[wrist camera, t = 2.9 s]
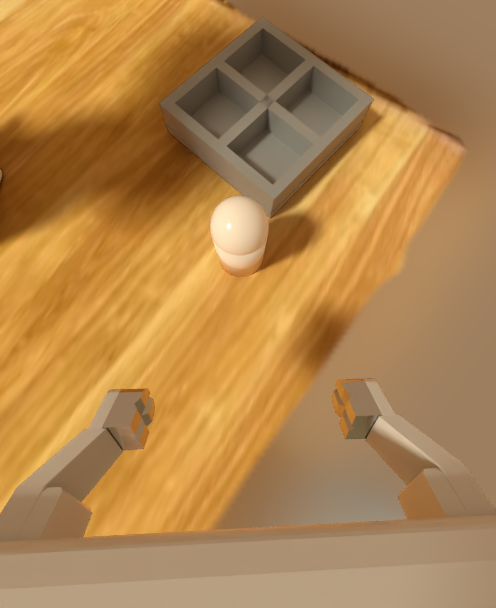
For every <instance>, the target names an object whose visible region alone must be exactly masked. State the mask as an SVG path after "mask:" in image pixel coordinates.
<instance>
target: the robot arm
mask: <svg viewBox="0 0 496 608" xmlns="http://www.w3.org/2000/svg"><path fill="white" fill-rule="evenodd" d="M1 178H2V171H1V169H0V181H1ZM336 387H337V389H336V390H335V391H334V392H333V395H332V402H333V407H334V410H335V413H336V414H337V415H338V416H339V417H340V418H341V420H340V423H339V424H340V427H341V429H342V432H343V435H344V438H345V439H366V441H367V443H368V444H369V445H370V446H371V447H372V448H373V449H374V450H375V451H376V452H377V453H378V454H379V455H380V456H381V457H382V459H383V460H384V461H385V462H386V463H387V464H388V465H389V466H390V467H391V468H392V469H393V470H394V472H395V473H396V474H397V475H398V476H399V477H400V478H401V479H402V480H403V481H404V482H405V483H406V484H407V486H406V487H405V488H404V489H403V490H402V491H401V492H400V493H399V495H398V499H399V501H400V503H401V506H402V508H403V510H404V512H405V515H406V517H407V519H405V520H389V521H388V520H387V521H370V522H369V521H368V522H351V523H333V524H314V525H297V526H277V527H259V528H241V529H223V530H204V531H186V532H168V533H150V534H131V535H113V536H95V537H83V536H84V534H85V531H86V528H87V525H88V523H89V520H90V517H91V515H92V512H91V509H90V508H88V507H87V506H86V505H84V504H83V503H82V501H83V500H84V499H85V497H86V496H87V495H88V494H89V493H90V491H91V490H92V489H93V488H94V486H95V485H96V484H97V483H98V482H99V480H100V479H101V478H102V477H103V476H104V474H105V473H106V472H107V471H108V469H109V468H110V467H111V466H112V465H113V463H114V462H115V461H116V460H117V459H118V457H119V456H120V455H121V454H122V452H123V451H124V450H137V449H144V447H145V444H146V440H147V437H148V434H149V431H148V428H147V426H148V425H149V424H150V423H151V422H152V420H153V417H154V411H155V405H154V401H153V399H152V398H150V397H149V395H150V392H149V390H148V388H145V389H112V390H109V391H108V392H107V393H106V395H105V397H104V399H103V401H102V403H101V405H100V407H99V409H98V411H97V413H96V415H95V417H94V419H93V421H92V422H91V424H90V426H89V428H88V429H84V430H83V431H82V432H81V433H80V434H78V435H77V436H76V437H75V438H74V439H73V440H71V441H70V442H69V443H68V444H67V445H66V446H64V447H63V448H62V449H61V450H60V451H59V452H58V453H56V454H55V455H54V456H53V457H52V458H51V459H49V460H48V461H47V462H46V463H45V464H44V465H43V466H41V467H40V468H39V469H38V470H37V471H36V472H34V473H33V474H32V475H31V476H30V477H29V478H27V479H26V480H25V481H24V482H23V483H22V484H21V485H19V486H18V487H17V488H16V490H15V491H14V493H13V495H12V496H11V498H10V499H9V501H8V503H7V504H6V506H5V507H4V509H3V511H2V512H1V514H0V608H496V509H495V507H494V506H493V504H492V503H491V501H490V500H489V498H488V497H487V496H486V494H485V493H484V492H483V490H482V488H481V487H480V485H479V484H478V483H477V481H476V480H475V478H474V477H473V475H472V474H471V473H470V471H469V470H468V468H467V467H466V465H464V464H463V463H462V462H460V461H459V460H458V459H456V458H455V457H454V456H453V455H451V454H450V453H449V452H447V451H446V450H445V449H443V448H442V447H441V446H439V445H438V444H437V443H436V442H434V441H433V440H432V439H430V438H429V437H428V436H426V435H425V434H424V433H423V432H421V431H420V430H419V429H417V428H416V427H415V426H413V425H412V424H411V423H410V422H408V421H407V420H406V419H404V418H403V417H402V416H401V415H396V414H395V412H394V410H393V409H392V407H391V405H390V404H389V402H388V400H387V398H386V397H385V395H384V393H383V391H382V390H381V388H380V386H379V385H378V383H377V381H376V380H375V379H372V378H370V379H347V380H338V381H337V383H336Z"/></svg>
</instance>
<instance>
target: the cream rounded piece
mask: <svg viewBox="0 0 496 608" xmlns="http://www.w3.org/2000/svg"><path fill="white" fill-rule="evenodd" d="M210 232H211V236H212V239H213V242H214V246H215V249H216V252H217V255H218V259H219V262H220V264H221V266H222V268H223V269H224V270H225V271H226V272H227V273H229V274H230V275H232V276H236V277H246V276H249V275H251V274H253V273H255V272H256V271H257V270H258V269H259V267H260V266H261V264H262V260H263V256H264V251H265V247H266V242H267V237H268V232H269V221H268V217H267V214H266V212H265V210H264V209H263V207H262V206H261V205H260V204H259V203H258V202H257V201H255V200H254V199H252V198H250V197H246V196H232V197H229V198H227V199H225V200H223V201H222V202H221V203H219V205H218V206H217V207H216V208H215V210H214V212H213V214H212V217H211V221H210Z"/></svg>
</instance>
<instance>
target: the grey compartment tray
mask: <svg viewBox="0 0 496 608" xmlns="http://www.w3.org/2000/svg"><path fill="white" fill-rule="evenodd" d="M373 100H374V99H373V98H372V97H371V96H369V95H368V94H366V93H365V92H364V91H362V90H361V89H360V88H358V87H357V86H356V85H354V84H353V83H352V82H350V81H349V80H347V79H346V78H345V77H343V76H342V75H341V74H339V73H338V72H337V71H335V70H334V69H333V68H331V67H330V66H329V65H327V64H326V63H324V62H323V61H322V60H320V59H319V58H318V57H316V56H315V55H314V54H312V53H311V52H310V51H308V50H307V49H305V48H304V47H303V46H301V45H300V44H299V43H297V42H296V41H295V40H293V39H292V38H291V37H289V36H288V35H286V34H285V33H284V32H282V31H281V30H280V29H278V28H277V27H276V26H274V25H273V24H272V23H270V22H269V21H267V20H266V19H265V18H263V17H261V18H260V19H259V20H257V21H256V22H255V23H254V24H253V25H252V26H250V27H249V28H248V29H247V30H246V31H244V32H243V33H242V34H241V35H240V36H238V37H237V38H236V39H235V40H234V41H233V42H231V43H230V44H229V45H228V46H227V47H225V48H224V49H223V50H222V51H221V52H219V53H218V54H217V55H216V56H215V57H214V58H212V59H211V60H210V61H209V62H208V63H206V64H205V65H204V66H203V67H202V68H200V69H199V70H198V71H197V72H196V73H195V74H193V75H192V76H191V77H190V78H189V79H187V80H186V81H185V82H184V83H183V84H181V85H180V86H179V87H178V88H177V89H176V90H174V91H173V92H172V93H171V94H170V95H168V96H167V97H166V98H165V99H164V100H162V101H161V102H160V103H159V105H160V108H161V111H162V113H163V116H164V119H165V122H166V126H167V129H168V132H169V133H170V134H171V135H173V136H174V137H175V138H176V139H177V140H178V141H180V142H181V143H182V144H183V145H184V146H186V147H187V148H188V149H189V150H190V151H191V152H193V153H194V154H195V155H196V156H197V157H198V158H200V159H201V160H202V161H203V162H204V163H205V164H207V165H208V166H209V167H210V168H211V169H213V170H214V171H215V172H216V173H217V174H218V175H220V176H221V177H222V178H223V179H224V180H225V181H227V182H228V183H229V184H230V185H231V186H232V187H234V188H235V189H236V190H237V191H238V192H240V193H241V194H242V195H243V196H246V197H250V198H252V199H254V200H255V201H257V202H258V203H259V204H260V205H261V206H262V207H263V209H264V210H265V212H266V214H267V216H268V217H269V218H271V217H272V216H273V215H274V214H275V213H276V212H277V211H278V210H279V209H280V208H281V207H282V206H283V205H284V204H285V203H286V202H287V201H288V200H289V199H290V198H291V197H292V196H293V195H294V194H295V193H296V192H297V191H298V190H299V189H300V188H301V187H302V186H303V185H304V184H305V183H306V182H307V181H308V180H309V178H310V177H311V176H312V175H313V174H314V173H315V172H316V171H317V170H318V169H319V168H320V167H321V166H322V165H323V164H324V163H325V162H326V161H327V160H328V159H329V158H330V157H331V156H332V155H333V154H334V153H335V152H336V151H337V150H338V149H339V148H340V147H341V146H342V145H343V144H344V143H345V142H346V141H347V140H348V139H349V138H350V137H351V136H352V135H353V134H354V133H355V132H356V131H357V130H358V129H359V128H360V126H361V124H362V122H363V119H364V117H365V115H366V113H367V112H368V110H369V108H370V106H371V104H372V102H373Z"/></svg>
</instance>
